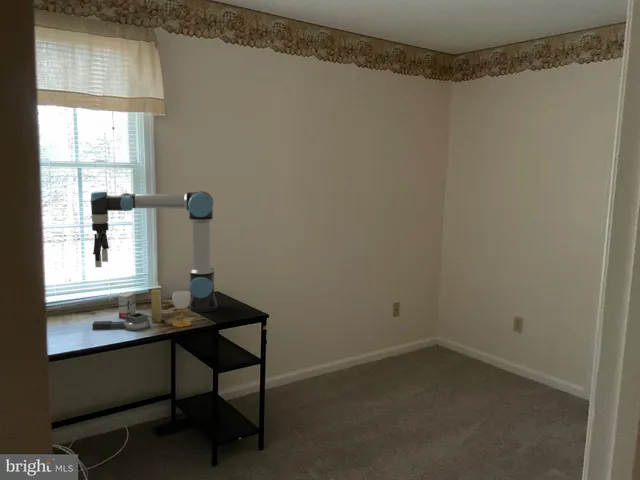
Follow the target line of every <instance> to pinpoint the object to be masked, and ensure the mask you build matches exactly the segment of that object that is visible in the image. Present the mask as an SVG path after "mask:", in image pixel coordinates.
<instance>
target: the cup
mask: <svg viewBox="0 0 640 480" xmlns="http://www.w3.org/2000/svg"><path fill="white" fill-rule="evenodd" d="M191 298H192V294H191V292H190V291H187V290H177V291H174V292H172V295H171V299H172V303H173V305H174V307H175V309H176V310H177V311H180V321H175V322H173V323H172V326H174V327H176V328H184V327H183V326H186V327H189V326H191V325H192V322H190V321H187V320H183V319H184V318H183V313H184V312H183V311H184V310H186V309H187V308H189V304H190V301H191Z"/></svg>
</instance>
